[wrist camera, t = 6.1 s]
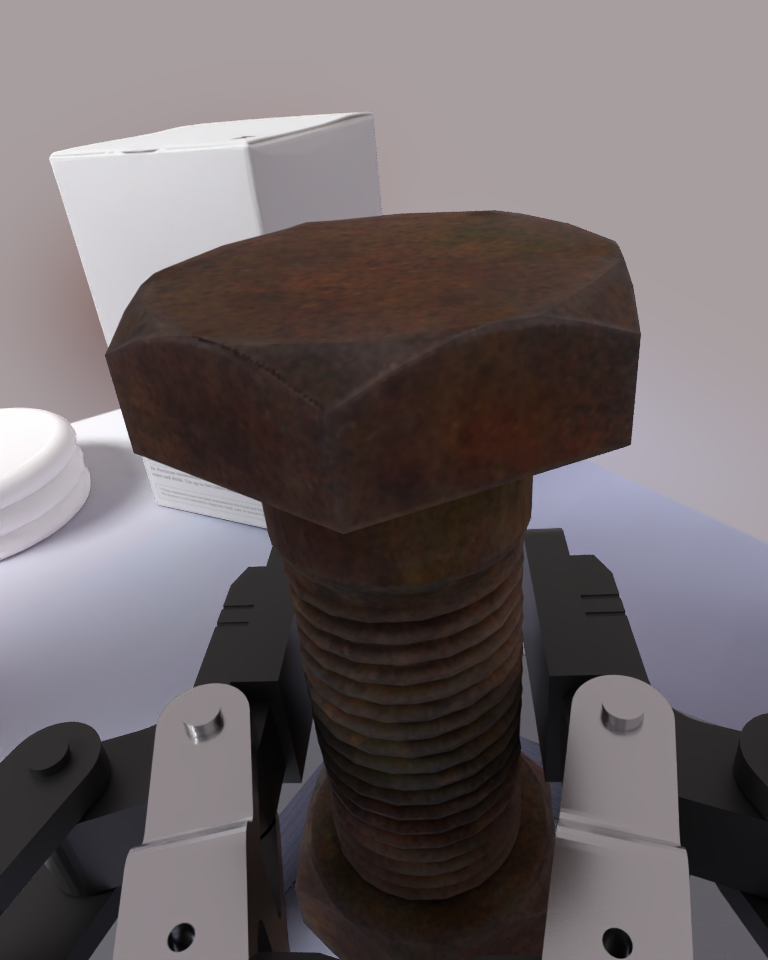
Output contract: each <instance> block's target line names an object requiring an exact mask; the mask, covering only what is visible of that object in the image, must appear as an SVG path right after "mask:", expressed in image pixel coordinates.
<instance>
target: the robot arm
mask: <svg viewBox="0 0 768 960" xmlns="http://www.w3.org/2000/svg"><path fill="white" fill-rule="evenodd" d="M523 550H524V563H523V580H522V590H523V595H524V600H523V615H524V618H523V624H522V630H523V641H524V647H525V654H526V661H527V667H528V674H529V680H530V687H531V693H532V700H533V706H534V713H535V719H536V726H537V732H538V739H539V745H540V752H541V758H542V765H543V771H544V778H545V782H562V787H563V789H562V798H561V807H560V816H559V820H558V823H557V830H556V838H555V847H554V856H553V865H552V874H551V882H550V891H549V900H548V909H547V918H546V927H545V936H544V945H543V954H542V956H504V955H482V956H479V957H475V958H472V959H468V960H693V945H692V925H691V905H690V885H689V875H692V876H696V877H699V878H702V879H705V880H708V881H711V882H715V884H716V886H717V887H718V889H719V890H720V892H721V894H722V895H723V896H724V898H725V899H726V901H727V902H728V903H729V905H730V906H731V908H732V909H733V910H734V912H735V913H736V915H737V916H738V917H739V919H740V920H741V922H742V923H743V924H744V926H745V927H746V929H747V930H748V931H749V933H750V934H751V936H752V937H753V939H754V940H755V941H756V943H757V944H758V946H759V947H760V948H761V950H762V951H763V953H764V954H765V955H766V957H767V958H768V713H767V714H763V715H759V716H757V717H755V718H753V719H752V720H750V721H749V722H748V723H747V724H746V725H745V726H744V728H743V730H742V731H737V730H733V729H729V728H725V727H721V726H717V725H712V724H708V723H704V722H701V721H698V720H695V719H692V718H690V717H687V716H685V715H683V714H681V713H680V712H678V711H676V710H675V709H673V708H672V707H671V706H670V704H669V702H668V701H667V699H666V698H665V697H664V696H663V695H662V694H661V693H660V692H659V691H658V690H656V689H655V688H654V687H652V686H651V684H650V682H649V680H648V677H647V674H646V671H645V668H644V665H643V662H642V660H641V657H640V654H639V651H638V648H637V645H636V642H635V639H634V636H633V633H632V630H631V627H630V624H629V621H628V618H627V616H625V610H624V607H623V604H622V601H621V598H619V592H618V589H617V586H616V583H615V580H614V577H613V574H612V572H611V571H610V570H609V569H608V568H607V567H606V566H605V565H604V564H603V563H602V562H601V561H599V560H598V559H597V558H596V557H595V556H594V555H575V556H570V555H569V551H568V547H567V543H566V540H565V536H564V532H563V530H562V528H552V529H528V530H526V531H525V533H524V544H523ZM223 607H224V609H223V610H222V611H221V614H220V616H219V619H218V622H217V627H215V630H214V632H213V635H212V638H211V641H210V643H209V646H208V649H207V651H206V654H205V657H204V660H203V662H202V665H201V668H200V670H199V673H198V676H197V678H196V681H195V684H194V687H193V688H192V689H189V690H187V691H185V692H184V693H182V694H180V695H179V696H177V697H176V698H175V699H173V700H172V701H171V702H170V703H169V704H168V705H167V706H166V708H165V709H164V710H163V712H162V713H161V715H160V717H159V719H158V722H157V724H156V725H154V726H151V727H149V728H146V729H143V730H140V731H137V732H133V733H130V734H126V735H123V736H119V737H116V738H112V739H109V740H105V741H102V742H101V740H100V737H99V735H98V733H97V732H96V731H95V730H94V729H93V728H92V727H91V726H89V725H86V724H84V723H79V722H64V723H59V724H55V725H52V726H49V727H46V728H44V729H42V730H40V731H38V732H36V733H34V734H33V735H31V736H29V737H28V738H27V739H25V740H24V741H23V742H22V743H20V744H19V745H18V746H17V747H16V748H15V749H14V750H13V751H12V752H11V753H10V754H9V755H8V756H7V757H6V758H5V759H4V760H3V761H2V762H1V763H0V960H89V958H90V957H91V956H92V954H93V953H94V951H95V950H96V948H97V947H98V946H99V944H100V943H101V941H102V940H103V938H104V937H105V935H106V934H107V933H108V931H109V930H110V928H111V927H112V925H113V924H114V923H115V921H116V920H117V918H118V922H117V930H116V937H115V945H114V953H113V960H340V959H337V958H334V957H331V956H327V955H324V954H321V953H302V952H290V949H289V942H288V934H287V922H286V907H285V893H284V878H283V863H282V849H281V834H280V821H279V815H278V811H277V809H278V804H279V799H280V794H281V789H282V784H283V783H302V779H303V773H304V767H305V762H306V756H307V750H308V745H309V739H310V733H311V727H312V722H313V716H312V706H311V701H310V698H309V694H308V690H307V682H306V679H305V676H304V670H303V667H302V657H301V652H300V645H299V634H298V631H297V625H296V615H295V612H294V606H293V600H292V597H291V595H290V591H289V584H288V580H287V578H286V577H285V574H284V565H283V559H282V558H281V557H280V556H279V554H278V553H277V551H276V550H275V548H274V547H272V550H271V553H270V556H269V559H268V563H267V566H262V567H248V568H247V569H246V570H245V571H244V572H243V573H242V574H241V575H240V576H239V577H238V579H237V580H236V581H235V582H234V583H233V584H232V585H231V587H230V589H229V592H228V595H227V597H226V600H225V603H224V605H223ZM42 865H43V866H42ZM37 871H38V872H37ZM33 876H34V877H33ZM28 882H29V883H28ZM23 888H24V889H23ZM18 894H19V895H18ZM14 899H15V900H14ZM9 905H10V906H9ZM4 911H5V912H4Z"/></svg>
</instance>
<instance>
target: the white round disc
mask: <svg viewBox="0 0 768 960" xmlns="http://www.w3.org/2000/svg"><path fill="white" fill-rule="evenodd" d="M90 488H91V479H90V473H89V470H88V469H87V467H86V466H85V465H84V456H83V453H82V450H81V449H80V447H79V446H78V445H77V444H76V433H75V430H74V428H73V427H72V426H71V424H70V423H69V422H68V421H67V420H66V419H65V418H63V417H62V416H59V415H57V414H55V413H52V412H48V411H45V410H41V409H34V408H6V409H0V560H2V559H5V558H7V557H10V556H12V555H15V554H17V553H19V552H21V551H23V550H25V549H27V548H29V547H31V546H33V545H35V544H37V543H39V542H40V541H42V540H44V539H45V538H47V537H48V536H50V535H51V534H53V533H55V532H56V531H57V530H58V529H60V528H61V527H62V526H64V525H65V524H66V523H67V522H68V521H69V520H70V519H72V518H73V517H74V515H75V514H76V513H77V512H78V511H79V510H80V509H81V507H82V506H83V504H84V503H85V501H86V500H87V498H88V495H89V492H90Z"/></svg>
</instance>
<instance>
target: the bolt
mask: <svg viewBox="0 0 768 960" xmlns="http://www.w3.org/2000/svg"><path fill="white" fill-rule="evenodd" d="M640 338H641V333H640V326H639V320H638V314H637V307H636V301H635V295H634V289H633V284H632V282H631V278H630V275H629V272H628V269H627V266H626V263H625V261H624V257H623V255H622V253H621V250H620V248H619V246H618V244H617V243H616V242H615V241H613V240H610V239H608V238H605V237H602V236H600V235H597V234H595V233H592V232H589V231H587V230H584V229H582V228H579V227H576V226H573V225H571V224H568V223H563V222H558V221H553V220H549V219H544V218H540V217H535V216H530V215H525V214H520V213H512V212H503V211H467V212H437V213H409V214H393V215H382V216H372V217H362V218H352V219H342V220H331V221H317V222H305V223H302V224H299V225H296V226H293V227H289V228H286V229H283V230H280V231H276V232H272V233H268V234H264V235H260V236H257V237H253V238H249V239H245V240H241V241H237V242H234V243H230V244H226V245H222V246H220V247H217V248H215V249H212V250H210V251H207V252H205V253H202V254H200V255H197V256H195V257H192V258H190V259H187V260H184V261H182V262H179V263H177V264H174V265H172V266H169V267H167V268H164V269H162V270H160V271H158V272H156V273H154V274H152V275H151V276H150V277H149V278H148V279H147V280H146V281H145V282H144V283H142V284H141V285H140V287H139V289H138V290H137V292H136V293H135V295H134V296H133V298H132V300H131V301H130V303H129V304H128V306H127V307H126V309H125V311H124V313H123V315H122V317H121V320H120V322H119V324H118V326H117V329H116V331H115V333H114V336H113V338H112V340H111V343H110V345H109V347H108V350H107V352H106V354H105V357H106V360H107V364H108V367H109V371H110V374H111V377H112V381H113V384H114V387H115V391H116V394H117V397H118V401H119V404H120V408H121V411H122V414H123V418H124V421H125V424H126V428H127V431H128V435H129V438H130V441H131V445H132V448H133V451H134V453H135V454H138V455H140V456H143V457H146V458H148V459H151V460H153V461H156V462H159V463H161V464H164V465H166V466H169V467H171V468H174V469H177V470H179V471H182V472H184V473H187V474H190V475H192V476H195V477H197V478H200V479H202V480H205V481H208V482H210V483H213V484H215V485H218V486H221V487H223V488H226V489H228V490H231V491H233V492H236V493H239V494H241V495H244V496H246V497H249V498H252V499H254V500H257V501H259V502H261V503H262V507H263V512H264V517H265V521H266V526H267V531H268V534H269V537H270V540H271V543H272V545H273V547H274V548H275V550H276V551H277V553H278V554H279V556H280V557H281V558H282V559H283V565H284V574H285V577H286V578H287V580H288V584H289V591H290V595H291V597H292V600H293V606H294V612H295V615H296V625H297V631H298V634H299V645H300V652H301V657H302V667H303V670H304V676H305V679H306V682H307V690H308V694H309V698H310V701H311V706H312V716H313V719H314V724H315V730H316V734H317V740H318V743H319V746H320V750H321V753H322V756H323V761H324V763H323V766H322V768H321V770H320V772H319V775H318V777H317V779H316V782H315V785H314V789H313V792H312V795H311V799H310V802H309V805H308V809H307V814H306V820H305V825H304V830H303V835H302V840H301V845H300V853H299V860H298V867H297V875H296V882H295V891H296V894H297V898H298V902H299V906H300V909H301V913H302V917H303V921H304V923H305V924H306V925H307V926H308V927H309V928H310V929H311V930H312V931H313V933H314V934H315V935H316V936H317V937H318V938H319V939H320V940H321V941H322V942H323V943H324V944H325V945H326V946H327V947H328V948H329V949H330V950H331V951H332V952H333V953H334V954H335V955H336V956H337V957H338V958H340V959H341V960H468V959H472V958H475V957H479V956H482V955H504V956H542V954H543V945H544V936H545V927H546V918H547V909H548V900H549V891H550V882H551V874H552V865H553V856H554V847H555V834H554V820H553V808H552V796H551V788H550V782H545V778H544V771H543V768H541V767H540V766H539V765H538V764H536V763H535V762H534V761H533V760H532V759H530V758H529V757H528V756H527V755H525V754H524V753H523V752H522V751H521V742H520V721H521V718H520V716H521V708H522V692H523V686H522V674H523V663H522V658H523V630H522V624H523V618H524V615H523V600H524V595H523V590H522V580H523V563H524V550H523V544H524V533H525V531H526V529H527V526H528V524H529V521H530V519H531V509H532V484H533V475H536V474H539V473H543V472H546V471H549V470H552V469H556V468H559V467H562V466H565V465H568V464H572V463H575V462H578V461H581V460H585V459H588V458H591V457H594V456H597V455H600V454H604V453H607V452H610V451H613V450H617V449H620V448H623V447H626V446H629V445H631V436H632V425H633V415H634V404H635V393H636V381H637V371H638V359H639V348H640Z"/></svg>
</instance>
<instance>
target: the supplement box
mask: <svg viewBox="0 0 768 960" xmlns="http://www.w3.org/2000/svg"><path fill="white" fill-rule="evenodd" d="M49 161H50V163H51V166H52V169H53V172H54V175H55V178H56V181H57V184H58V187H59V190H60V194H61V197H62V200H63V203H64V206H65V210H66V213H67V216H68V219H69V222H70V226H71V229H72V232H73V235H74V238H75V242H76V245H77V248H78V251H79V255H80V258H81V261H82V265H83V268H84V271H85V274H86V277H87V281H88V284H89V287H90V290H91V293H92V297H93V300H94V303H95V307H96V309H97V313H98V316H99V319H100V323H101V326H102V329H103V332H104V336H105V339H106V342H107V345H108V347H109V345H110V343H111V340H112V338H113V336H114V333H115V331H116V329H117V326H118V324H119V322H120V320H121V317H122V315H123V313H124V311H125V309H126V307H127V306H128V304H129V303H130V301H131V300H132V298H133V296H134V295H135V293H136V292H137V290H138V289H139V287H140V285H141V284H142V283H144V282H145V281H146V280H147V279H148V278H149V277H150V276H151V275H152V274H154V273H156V272H158V271H160V270H162V269H164V268H167V267H169V266H172V265H174V264H177V263H179V262H182V261H184V260H187V259H190V258H192V257H195V256H197V255H200V254H202V253H205V252H207V251H210V250H212V249H215V248H217V247H220V246H222V245H226V244H230V243H234V242H237V241H241V240H245V239H249V238H253V237H257V236H260V235H264V234H268V233H272V232H276V231H280V230H283V229H286V228H289V227H293V226H296V225H299V224H302V223H305V222H317V221H331V220H342V219H352V218H362V217H372V216H382V208H381V196H380V186H379V175H378V164H377V152H376V141H375V129H374V118H373V114H372V113H371V112H358V113H341V114H325V115H307V116H294V117H279V118H266V119H252V120H240V121H229V122H217V123H207V124H197V125H189V126H182V127H177V128H172V129H169V130H164V131H160V132H156V133H151V134H146V135H141V136H137V137H130V138H124V139H119V140H113V141H108V142H102V143H97V144H91V145H86V146H80V147H75V148H70V149H66V150H62V151H58V152H54V153H52V155H51V156H50V158H49ZM142 459H143V462H144V465H145V469H146V472H147V475H148V478H149V482H150V485H151V488H152V492H153V495H154V498H155V502H156V504H158V505H161V506H165V507H170V508H175V509H179V510H184V511H189V512H193V513H198V514H202V515H207V516H212V517H216V518H221V519H225V520H230V521H234V522H239V523H243V524H248V525H252V526H257V527H261V528H266V529H267V526H266V521H265V517H264V512H263V507H262V503H261V502H259V501H257V500H254V499H252V498H249V497H246V496H244V495H241V494H239V493H236V492H233V491H231V490H228V489H226V488H223V487H221V486H218V485H215V484H213V483H210V482H208V481H205V480H202V479H200V478H197V477H195V476H192V475H190V474H187V473H184V472H182V471H179V470H177V469H174V468H171V467H169V466H166V465H164V464H161V463H159V462H156V461H153V460H151V459H148V458H146V457H143V456H142Z"/></svg>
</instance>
